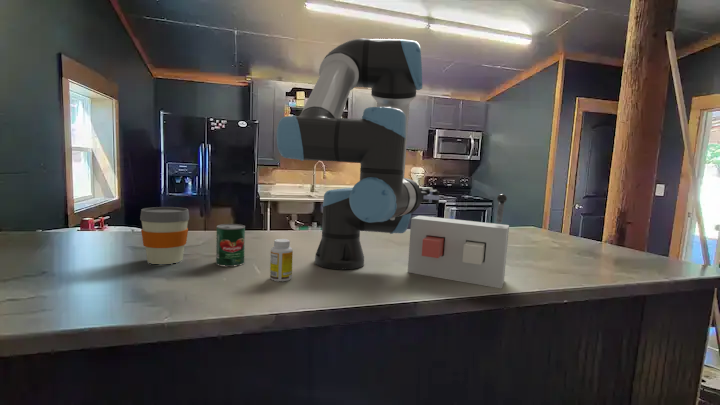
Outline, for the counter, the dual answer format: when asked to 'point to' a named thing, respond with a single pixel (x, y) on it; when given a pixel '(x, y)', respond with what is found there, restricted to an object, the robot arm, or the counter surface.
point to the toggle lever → (500, 207)
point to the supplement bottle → (281, 260)
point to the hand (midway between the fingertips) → (429, 192)
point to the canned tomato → (230, 244)
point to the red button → (433, 247)
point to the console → (459, 250)
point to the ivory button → (473, 252)
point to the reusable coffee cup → (164, 233)
